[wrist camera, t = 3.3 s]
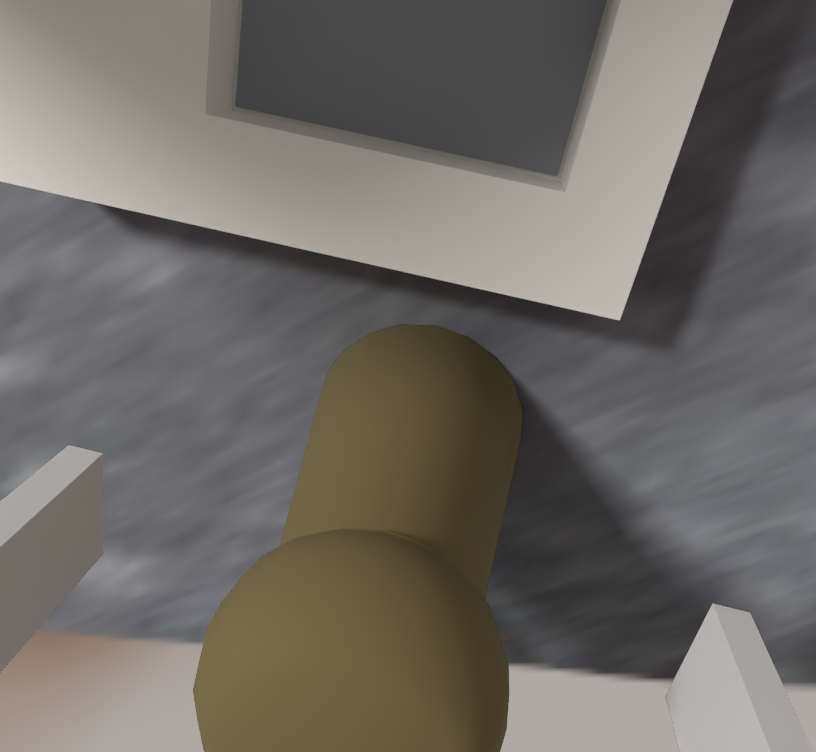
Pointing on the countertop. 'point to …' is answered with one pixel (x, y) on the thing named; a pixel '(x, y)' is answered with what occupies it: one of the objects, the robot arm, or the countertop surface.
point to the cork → (378, 566)
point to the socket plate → (372, 126)
